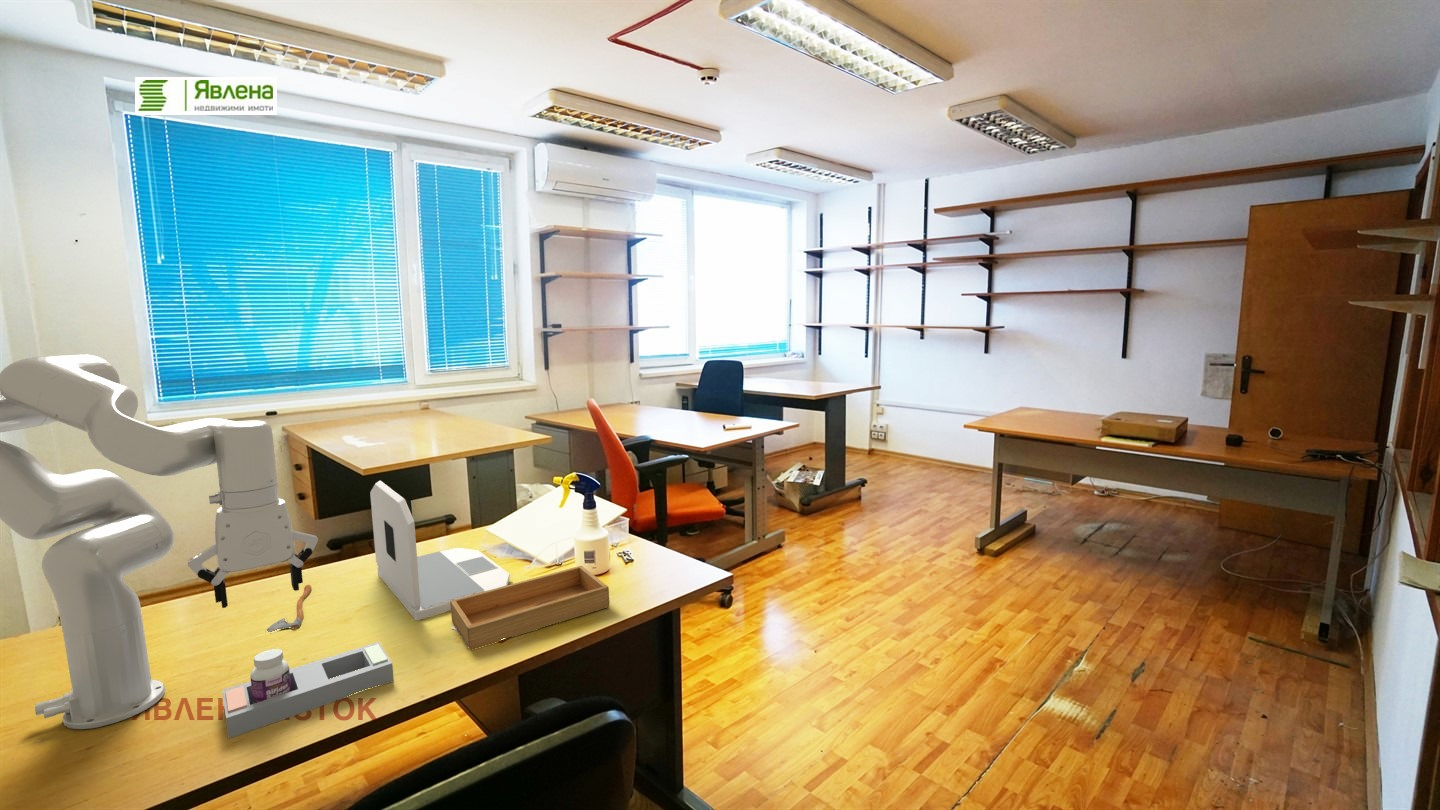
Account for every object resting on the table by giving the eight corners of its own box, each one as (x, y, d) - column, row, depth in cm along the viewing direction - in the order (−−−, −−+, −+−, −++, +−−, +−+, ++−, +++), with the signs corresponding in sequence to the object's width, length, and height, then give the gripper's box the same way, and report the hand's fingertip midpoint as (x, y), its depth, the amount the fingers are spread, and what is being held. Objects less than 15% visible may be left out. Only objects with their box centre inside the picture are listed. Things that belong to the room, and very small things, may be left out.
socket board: (228, 738, 100) (225, 716, 99) (224, 708, 107) (221, 688, 107) (393, 680, 115) (392, 661, 115) (380, 658, 123) (378, 640, 122)
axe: (280, 594, 152) (280, 587, 151) (312, 589, 154) (312, 583, 154) (263, 637, 132) (262, 629, 132) (300, 631, 135) (299, 623, 135)
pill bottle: (272, 719, 104) (266, 665, 103) (246, 714, 105) (240, 661, 104) (300, 699, 110) (295, 648, 108) (274, 696, 111) (269, 644, 109)
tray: (470, 652, 125) (468, 626, 125) (451, 623, 138) (449, 598, 137) (610, 610, 143) (609, 586, 142) (582, 587, 155) (581, 565, 155)
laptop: (520, 590, 153) (515, 485, 150) (415, 622, 138) (406, 506, 134) (471, 552, 178) (465, 461, 174) (376, 575, 162) (368, 476, 159)
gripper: (180, 513, 94) (194, 620, 96) (316, 492, 105) (325, 589, 107) (180, 501, 99) (193, 603, 102) (309, 483, 111) (317, 575, 113)
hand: (261, 596), depth 105 cm, fingers open, 9 cm apart
